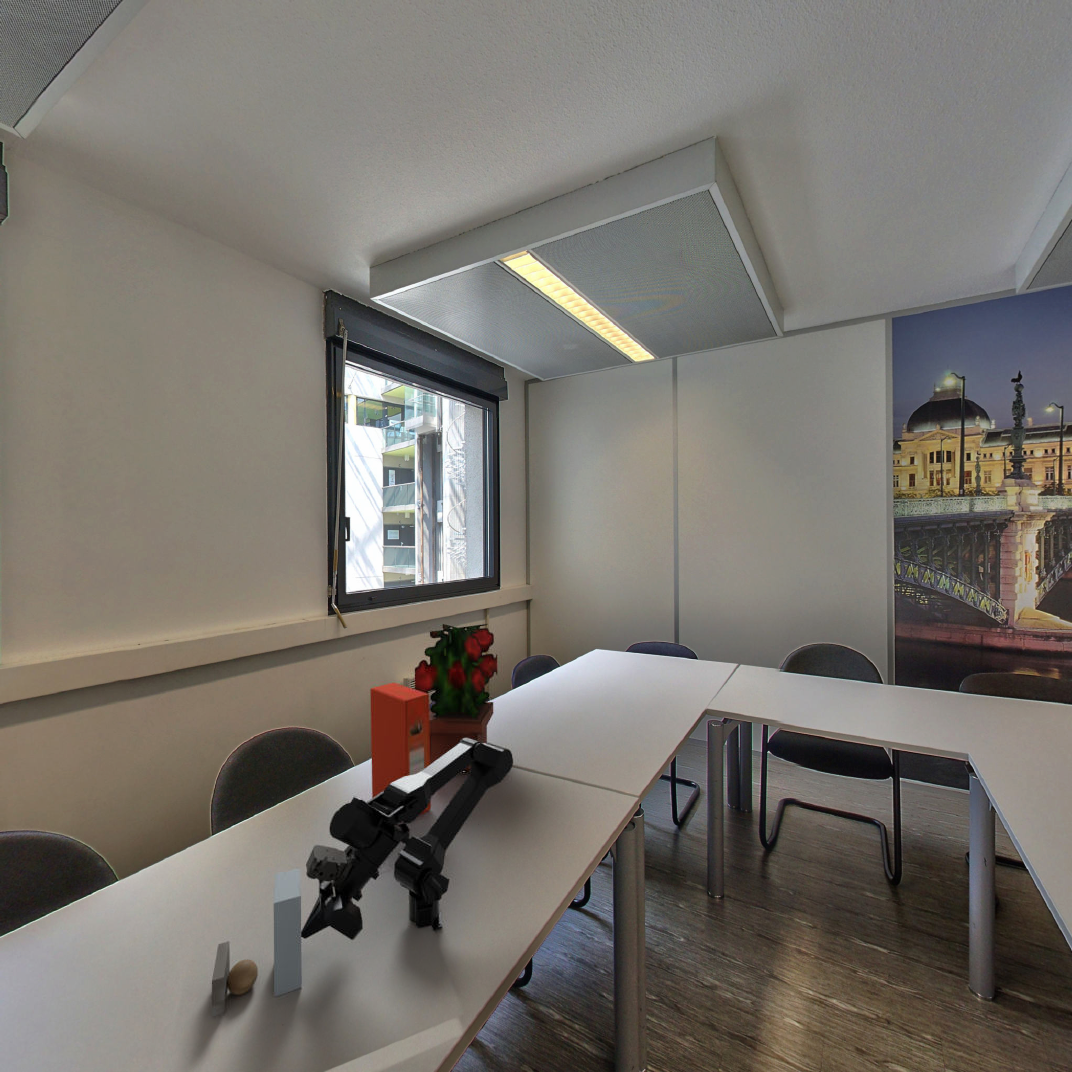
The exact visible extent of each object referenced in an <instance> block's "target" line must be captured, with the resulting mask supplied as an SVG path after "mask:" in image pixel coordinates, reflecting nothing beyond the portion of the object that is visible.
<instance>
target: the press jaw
mask: <svg viewBox="0 0 1072 1072" xmlns="http://www.w3.org/2000/svg"><path fill="white" fill-rule="evenodd" d="M301 883H302V882H301V867H299V868H294V869H290V870H286V871H282V872H279V873H274V887H273V888H274V889H273V980H274V981H273V983H274V984H273V986H274V987H273V990H274V991H273V992H274V994H273V995H274V996H273V997H274V998H276V997H277V996H282V995H284V994H287V993H289V992H293V991H296V990H299V989H302V986H303V985H302V982H303V977H302V975H303V974H302V967H303V966H302V937H301V931H302V889H301V886H302V884H301Z"/></svg>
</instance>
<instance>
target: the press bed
mask: <svg viewBox="0 0 1072 1072" xmlns="http://www.w3.org/2000/svg"><path fill="white" fill-rule="evenodd" d="M230 957H231V956H230V940H229V941H225V942H224V941H223V942H221V943H219V944H218V945H217V950H216V957H215V962H214V967H213V972H212V980H211V1018H212V1019H215V1018H217V1017H221V1016H223V1015H225V1013H226V1005H227V996H228V991H229V989H228V987H227V978H228V975H229V973H230V971H231V969H230V966H231V965H230V961H231V960H230Z"/></svg>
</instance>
